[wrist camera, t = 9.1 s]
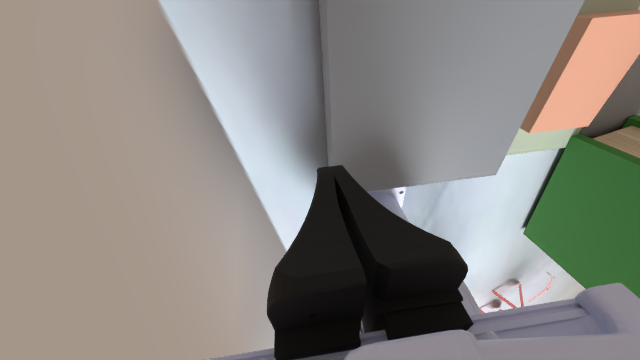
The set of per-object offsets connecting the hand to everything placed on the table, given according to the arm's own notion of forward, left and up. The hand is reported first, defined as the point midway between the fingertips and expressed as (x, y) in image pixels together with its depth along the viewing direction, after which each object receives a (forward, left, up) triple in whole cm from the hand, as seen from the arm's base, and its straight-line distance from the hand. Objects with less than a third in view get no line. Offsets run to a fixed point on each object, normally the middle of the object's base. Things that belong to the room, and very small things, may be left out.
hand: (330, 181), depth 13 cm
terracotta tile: (+1, -23, -8) cm, 24 cm away
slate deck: (+1, -9, -10) cm, 14 cm away
